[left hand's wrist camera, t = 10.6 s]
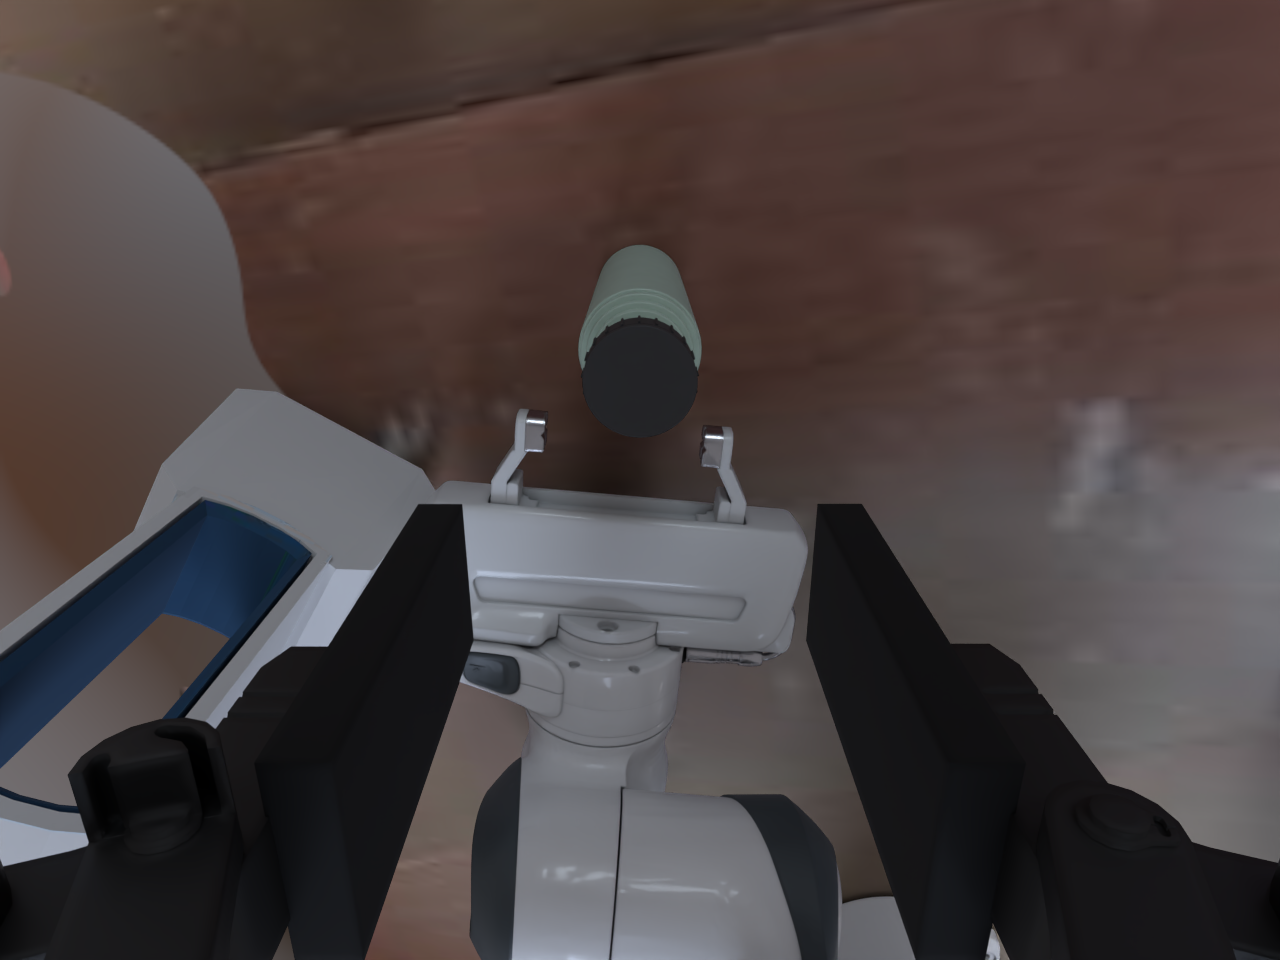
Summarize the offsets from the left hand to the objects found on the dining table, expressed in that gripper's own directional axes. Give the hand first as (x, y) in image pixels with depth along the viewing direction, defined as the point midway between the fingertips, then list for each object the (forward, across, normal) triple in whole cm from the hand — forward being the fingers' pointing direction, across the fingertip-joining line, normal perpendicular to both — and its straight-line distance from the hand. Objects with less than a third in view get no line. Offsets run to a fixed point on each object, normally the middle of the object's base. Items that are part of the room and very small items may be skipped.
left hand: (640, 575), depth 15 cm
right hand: (+27, +1, +6) cm, 28 cm away
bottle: (+34, 0, 0) cm, 34 cm away
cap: (+14, 0, 0) cm, 14 cm away
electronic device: (+34, +18, +11) cm, 40 cm away
